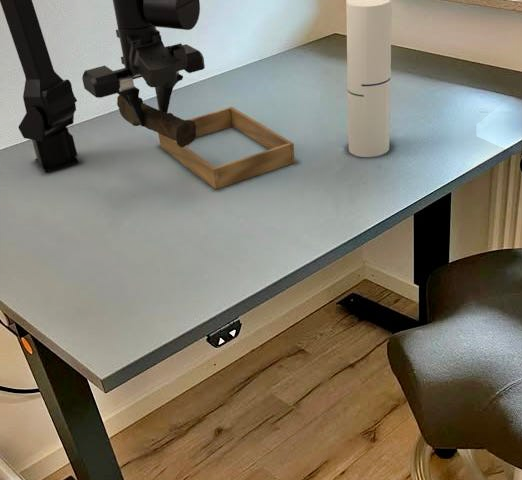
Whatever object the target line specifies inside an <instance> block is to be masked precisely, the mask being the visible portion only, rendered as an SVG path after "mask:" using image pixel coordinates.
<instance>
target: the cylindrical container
mask: <svg viewBox="0 0 522 480" xmlns="http://www.w3.org/2000/svg"><path fill="white" fill-rule="evenodd" d="M345 1H346V2H345V4H346V5H345V7H346V14H345V15H346V57H347V58H346V66H347V67H346V68H347V69H346V71H347V116H348V117H347V124H348V125H347V129H348V131H347V132H348V152H349V153H350V154H351V155H353V156H356V157H361V158H374V157H375V158H376V157H379V156H382V155H384V154H386V153H387V152H388V151H389V150H390V128H391V127H390V125H391V124H390V123H391V121H390V120H391V72H392V71H391V67H392V65H391V64H392V63H391V62H392V61H391V60H392V12H393V11H392V9H393V8H392V7H393V6H392V5H393V0H345Z"/></svg>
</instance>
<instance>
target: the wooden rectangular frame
mask: <svg viewBox="0 0 522 480" xmlns="http://www.w3.org/2000/svg"><path fill="white" fill-rule="evenodd" d="M188 120H191V121H194V122H195V124H196V138H199V137H203V136H205V135H209V134H212V133H215V132H218V131H222V130H225V129H228V128H232V127H233V128H234V129H236V130H238V131H239V132H241V133H242V134H244V135H246V136H247V137H249V138H250V139H252V140H253V141H256V142H257V143H258V144H260V145H261V146H263V147H265V148H266V149H267V150H263V151H261V152H258V153H257V152H256V153H254V154H252V155H249V156H246V157H245V156H244V157H243V158H238V159H236V160H232V161H230V162H227V163H224V164H222V165H221V164H220V165H218V166H214V165H213V164H211V163H210V162H208V161H207V160H206V159H204V158H203V157H201V156H200V155H199V154H197V153H196V152H195V151H194V150H192V149H191V148H190V147H188V146H185V147H183V148H182V147H180V146H178V145H177V141H175V140H172V139H170V138H168V137H166V136H163V135H161V134H159V133H157V135H158V141H159V147H160V148H161V149H162V150H164V151H165V152H166V153H167V154H168V155H170V156H172V158H174V159H175V160H177V161H178V162H179V163H181V164H182V165H183V166H184V167H186V168H187V169H189V170H190V171H191V172H193V174H195V175H197V177H198V178H200V179H202V180H203V181H204V182H206V183H207V184H208V185H210V186H211V187H212V188H213V189H215V190H218V189H219V190H220V189H222V188H224V187H227V186H230V185H234V184H237V183H239V182H242V181H245V180H248V179H251V178H253V177H257V176H259V175H263V174H266V173H269V172H271V171H274V170H277V169H280V168H283V167H287V166H289V165H291V164H295V163H296V156H295V155H296V154H295V144H294V142H293V141H291V140H289V139H288V138H286V137H284V136H283V135H280V134H279V133H277V132H275V131H274V130H272V129H271V128H269V127H267V126H266V125H264V124H262V123H260V122H258V121H257V120H255V119H253V118H252V117H250V116H249V115H247V114H245V113H243V112H241V111H240V110H239V109H236V108H235V107H233V106H229V107H225V108H222V109H219V110H215V111H212V112H208V113H206V114H202V115H199V116H196V117H192V118H189V119H188Z"/></svg>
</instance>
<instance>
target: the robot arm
mask: <svg viewBox="0 0 522 480" xmlns="http://www.w3.org/2000/svg"><path fill="white" fill-rule="evenodd" d="M112 4H113V10H114V15H115V20H116V26H117V29H115V34H116V37H117V38H119V42H120V43H119V44H120V48H121V53H122V56H120V60H121V64H122V65H123V66H124V67H123V68H120V69H115V70H113V69H111V68H109V67H108V66H106V65H102V66H97V67H94V68H90V69H86V70H84V72H83V73H82V77H81V79H82V83H83V89H84V90H86V92H88V93H89V94H91V95H92V96H94V97H95V98H97V99H99V98H100V99H101V98H105V97H109V96H112V95H116V94H117V95H118V96H119V95H120V96H122V97H123V98H124V99H125V101H126V102H127V104H128V105H129V107H130V109H131V110H132V112H133V114H134V116H135V117H136V119H137V121H138V122H139V124H140V125H139V126H141V127H144V117H143V113H142V109H141V105H140V101H139V95H140V89H139V88H138V87H136V86H135V83H134V80H136V79H139V78H142V79H143V80H144V81H145V84H146V85H147V86H148V87H150V88H154V90H155V95H156V102H157V109H158V110H160V111H163V112H166V113H169V112H168V111H169V107H170V101H171V96H172V93H173V90H174V87H175V86H176V85H177V84H178V82H180V81H183V79H184V76H183V75H182V74H181V73H180V71H185V72H186V73H188V74H192V73H195V72H199V71H203V70H205V68H206V65H205V58H204V56H203V53H202V52H201V51H200V50H199V49H197V48H194V47H193V46H191V45H189V44H182V43H181V42H179V43H177V44H173V45H167V46H165V45H164V43H163V40H162V35H161V32H160V31H159V30H158V29H157V28H164V29H173V30H185V31H189V30H193V29H194V28H195V27H196V25H197V23H198V21H199V17H200V13H201V2H200V0H112ZM0 5H1V8H2V12H3V15H4V17H5V20H6V23H7V27H8V29H9V33H10V35H11V38H12V41H13V45H14V48H15V50H16V53H17V56H18V60H19V62H20V65H21V68H22V72H23V74H24V77H25V82H24V89H23V96H22V100H23V104H24V107H25V115H24V116H23V118H22V120H21V122H20V123H19V125H18V130H19V132H20V134H21V136H22V138H23V139H27V140H31V142H32V145H33V149H34V152H35V156H36V158H35V159H34V161H35V163H36V164H37V165H38V166H39V168H41V169H42V171H43V172H44V173H50V172H54V171H57V170H61V169H63V168H67V167H70V166H73V165H76V164H78V163H80V161H79V159H78V158H77V157H78V152H77V149H76V143H75V140H74V136H73V134H71V133H70V132H69V128H68V126H70V125H71V126H72V125H73V124H74V119H75V118H74V117H75V113H76V111H77V105H76V102H77V103H78V100H77V98H76V95H75V94H74V91H73V86H72V85H73V84H72V83H71V81H70V80H69V79H63V78H62V77H61V76H60V74H58V73H57V72H56V71H55V69H54V65H53V62H52V60H51V57H50V53H49V50H48V47H47V44H46V41H45V38H44V35H43V32H42V28H41V24H40V22H39V18H38V15H37V13H36V8H35V5H34V2H33V0H0Z"/></svg>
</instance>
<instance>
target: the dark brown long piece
mask: <svg viewBox="0 0 522 480" xmlns="http://www.w3.org/2000/svg"><path fill="white" fill-rule="evenodd" d="M116 101H117V102H116V105H117V107H118V111H119V113H120V115H121V118H123V119H124V120H125V121H126V122H128V123H129V124H131V125H132V126H133V127H139V126H141V125H140V124H139V122H138V121H137V119H136V117H135V116H134V114H133V112H132V110H131V109H130V107H129V105H128V104H127V102H126V101H125V99H124V98H123V97H122V96H120V95H119V94H118V96H117V99H116ZM139 101H140V105H141V109H142V113H143V117H144V126H143V127H144V128H146V129H147V130H151V131H153V132H155V133H157V134H158V133H159V134H161V135H163V136H166V137H168V138H170V139H172V140H175V141H177V145H178V146H180V147H182V148H183V147H185V146H186V147H188V146H189V145H191V144H192V143H193V142H194V141H195V140H196V139H197V137H196V124H195V122H194V121H191V120H189V119H182V118H180V117H177V116H176V115H174V114H173V113H172V112H167V113H166V112H163V111H160V110H159V109H158V108H155V107H153V106H151V105H148V104H146V103H144V101H143V98H141V97H139Z"/></svg>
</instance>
